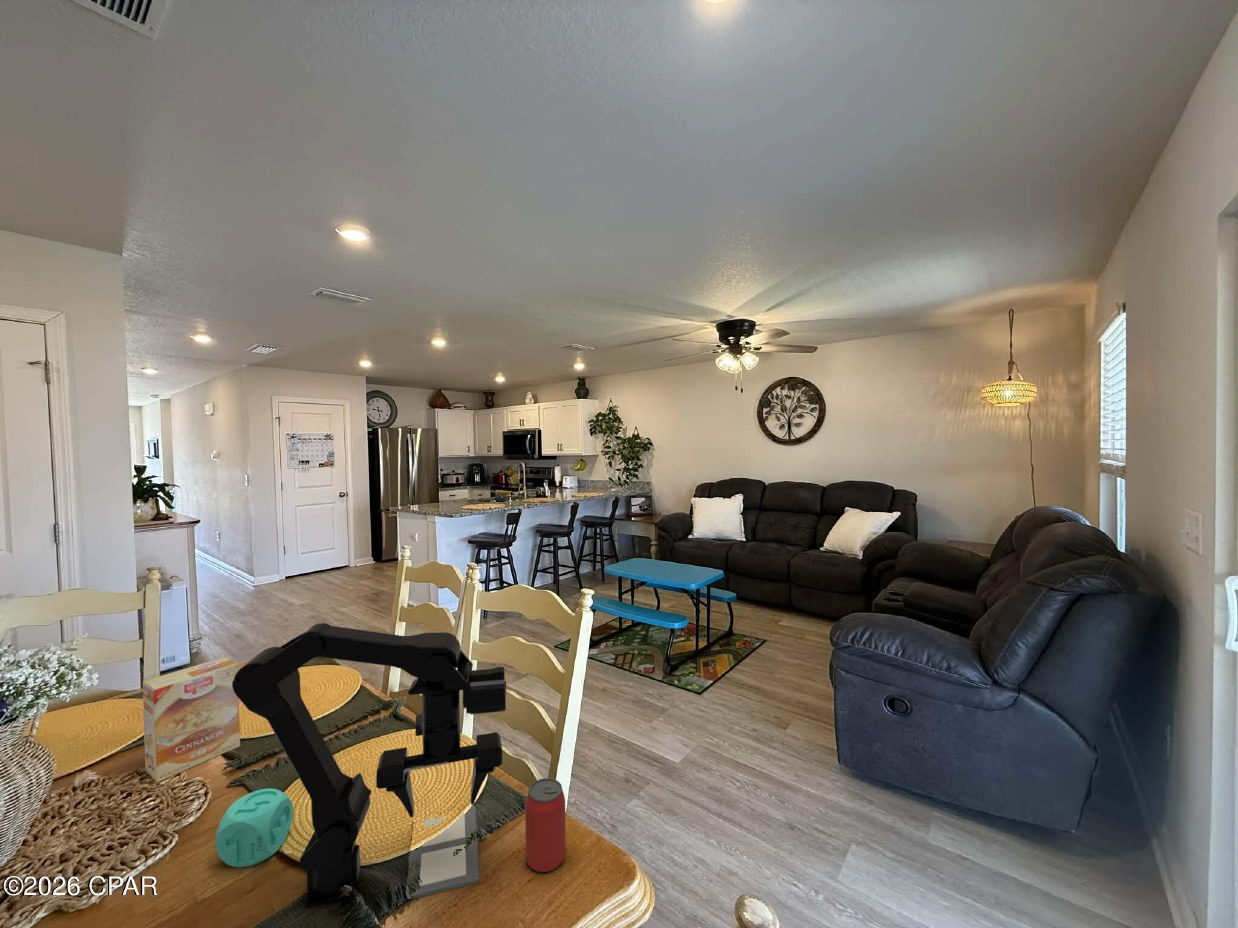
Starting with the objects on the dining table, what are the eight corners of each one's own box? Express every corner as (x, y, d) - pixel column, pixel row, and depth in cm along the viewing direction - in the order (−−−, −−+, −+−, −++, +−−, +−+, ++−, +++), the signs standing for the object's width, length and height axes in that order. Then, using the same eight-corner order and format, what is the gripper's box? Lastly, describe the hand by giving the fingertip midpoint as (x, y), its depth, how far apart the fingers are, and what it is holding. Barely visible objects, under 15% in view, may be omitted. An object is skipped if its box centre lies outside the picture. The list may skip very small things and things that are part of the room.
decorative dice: (215, 869, 83) (213, 821, 82) (247, 831, 91) (246, 788, 90) (266, 867, 83) (264, 819, 83) (294, 829, 91) (293, 786, 91)
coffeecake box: (156, 783, 103) (152, 689, 103) (144, 771, 107) (140, 680, 106) (241, 746, 116) (239, 662, 115) (228, 736, 120) (225, 655, 119)
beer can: (558, 877, 81) (558, 805, 81) (519, 871, 83) (519, 799, 82) (570, 845, 88) (570, 778, 87) (533, 839, 89) (533, 773, 89)
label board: (404, 901, 77) (404, 896, 77) (413, 821, 93) (413, 817, 93) (479, 882, 80) (479, 877, 80) (475, 808, 97) (475, 804, 97)
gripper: (496, 684, 92) (497, 767, 93) (384, 699, 87) (386, 788, 87) (502, 715, 82) (503, 809, 83) (374, 736, 76) (376, 836, 77)
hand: (442, 808), depth 83 cm, fingers open, 9 cm apart
